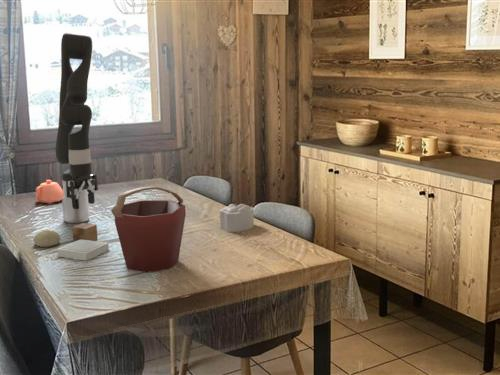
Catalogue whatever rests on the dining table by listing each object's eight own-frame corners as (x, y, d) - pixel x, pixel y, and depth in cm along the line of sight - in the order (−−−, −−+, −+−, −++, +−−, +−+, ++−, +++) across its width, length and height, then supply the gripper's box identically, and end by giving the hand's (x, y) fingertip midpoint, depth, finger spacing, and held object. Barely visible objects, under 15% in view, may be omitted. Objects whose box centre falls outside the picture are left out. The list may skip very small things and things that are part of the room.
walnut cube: (73, 243, 220) (72, 227, 219) (84, 238, 225) (83, 222, 224) (87, 244, 218) (85, 228, 216) (97, 240, 223) (96, 224, 222)
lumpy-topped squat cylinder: (217, 226, 237) (216, 205, 236) (245, 221, 244) (244, 200, 242) (230, 233, 229) (230, 210, 227) (259, 227, 236) (259, 205, 234)
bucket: (119, 280, 183) (114, 199, 177) (105, 258, 203) (100, 185, 197) (197, 267, 192) (194, 190, 187) (176, 248, 212) (173, 177, 207)
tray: (57, 256, 205) (57, 248, 205) (81, 245, 216) (80, 238, 216) (86, 260, 201) (85, 252, 200) (108, 249, 211) (108, 242, 211)
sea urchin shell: (36, 245, 212) (32, 225, 215) (35, 256, 218) (31, 237, 221) (63, 241, 216) (58, 222, 219) (61, 251, 222) (57, 233, 225)
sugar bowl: (69, 200, 285) (68, 179, 283) (45, 206, 273) (43, 184, 271) (52, 197, 291) (50, 176, 289) (27, 203, 280) (25, 182, 277)
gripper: (84, 158, 223) (88, 201, 226) (58, 164, 210) (62, 210, 214) (101, 158, 220) (104, 202, 223) (75, 165, 207) (79, 211, 211)
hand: (83, 206), depth 219 cm, fingers open, 8 cm apart
